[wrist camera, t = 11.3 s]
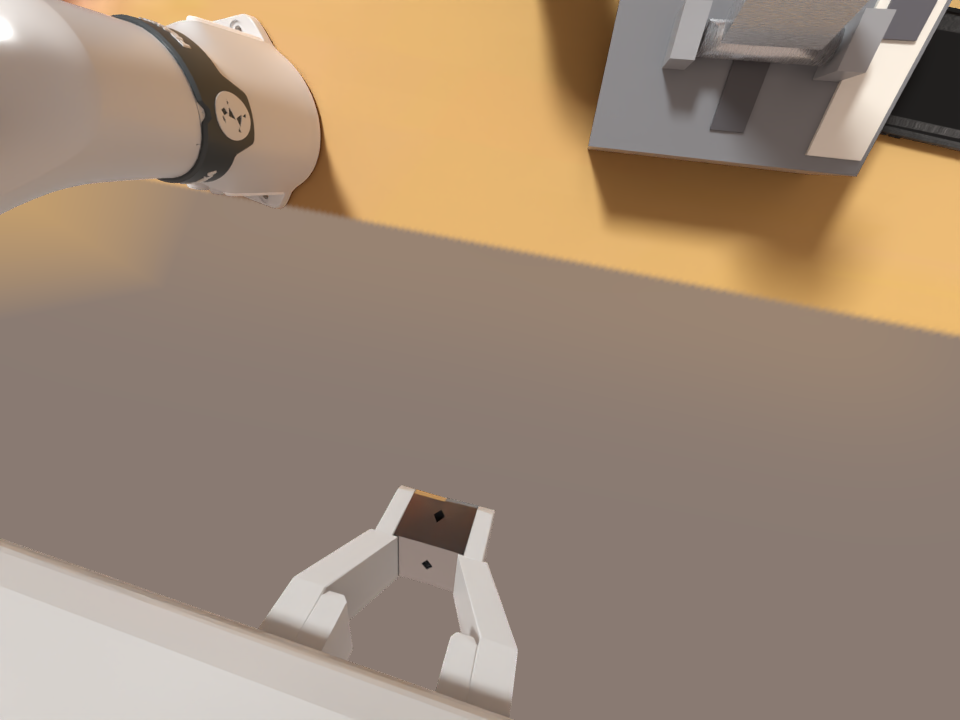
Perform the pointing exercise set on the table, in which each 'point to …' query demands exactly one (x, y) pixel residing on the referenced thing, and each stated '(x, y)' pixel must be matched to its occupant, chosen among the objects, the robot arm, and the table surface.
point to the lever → (779, 31)
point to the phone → (932, 91)
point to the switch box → (755, 89)
